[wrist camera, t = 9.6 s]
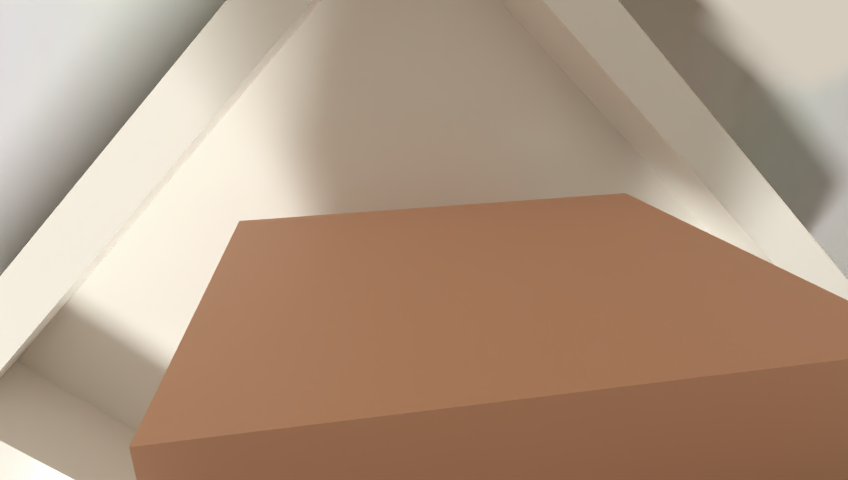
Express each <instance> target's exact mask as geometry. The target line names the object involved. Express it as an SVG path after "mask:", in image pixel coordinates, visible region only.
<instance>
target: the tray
mask: <svg viewBox="0 0 848 480" xmlns="http://www.w3.org/2000/svg"><path fill="white" fill-rule="evenodd" d="M620 193H626V194H628V195H630V196H632V197H635V198H637V199H639V200H641V201H643V202H645V203H647V204H649V205H651V206H653V207H655V208H657V209H659V210H661V211H664V212H666V213H668V214H670V215H672V216H674V217H676V218H678V219H680V220H682V221H684V222H686V223H688V224H690V225H693V226H695V227H697V228H699V229H701V230H703V231H705V232H707V233H709V234H711V235H713V236H715V237H717V238H719V239H722V240H724V241H726V242H728V243H730V244H732V245H734V246H736V247H738V248H740V249H742V250H744V251H746V252H748V253H751V254H753V255H755V256H757V257H759V258H761V259H763V260H765V261H767V262H769V263H771V264H773V265H775V266H777V267H780V268H782V269H784V270H786V271H788V272H790V273H792V274H794V275H796V276H798V277H800V278H802V279H804V280H806V281H809V282H811V283H813V284H815V285H817V286H819V287H821V288H823V289H825V290H827V291H829V292H831V293H833V294H835V295H838V296H840V297H842V298H844V299H846V300H848V280H847V278H846V277H845V276H844V275H843V274H842V272H841V271H840V270H839V269H838V267H837V266H836V265H835V264H834V263H833V261H832V260H831V259H830V258H829V256H828V255H827V254H826V253H825V252H824V250H823V249H822V248H821V247H820V245H819V244H818V243H817V242H816V241H815V239H814V238H813V237H812V236H811V234H810V233H809V232H808V231H807V230H806V228H805V227H804V226H803V225H802V223H801V222H800V221H799V220H798V219H797V217H796V216H795V215H794V214H793V213H792V211H791V210H790V209H789V208H788V206H787V205H786V204H785V203H784V202H783V200H782V199H781V198H780V197H779V195H778V194H777V193H776V192H775V191H774V189H773V188H772V187H771V186H770V184H769V183H768V182H767V181H766V180H765V178H764V177H763V176H762V175H761V173H760V172H759V171H758V170H757V169H756V167H755V166H754V165H753V164H752V162H751V161H750V160H749V159H748V158H747V156H746V155H745V154H744V153H743V151H742V150H741V149H740V148H739V147H738V145H737V144H736V143H735V142H734V140H733V139H732V138H731V137H730V136H729V134H728V133H727V132H726V131H725V129H724V128H723V127H722V126H721V125H720V123H719V122H718V121H717V120H716V119H715V117H714V116H713V115H712V114H711V112H710V111H709V110H708V109H707V108H706V106H705V105H704V104H703V103H702V101H701V100H700V99H699V98H698V97H697V95H696V94H695V93H694V92H693V90H692V89H691V88H690V87H689V86H688V84H687V83H686V82H685V81H684V79H683V78H682V77H681V76H680V75H679V73H678V72H677V71H676V70H675V68H674V67H673V66H672V65H671V64H670V62H669V61H668V60H667V59H666V57H665V56H664V55H663V54H662V53H661V51H660V50H659V49H658V48H657V46H656V45H655V44H654V43H653V42H652V40H651V39H650V38H649V37H648V35H647V34H646V33H645V32H644V31H643V29H642V28H641V27H640V26H639V25H638V23H637V22H636V21H635V20H634V18H633V17H632V16H631V15H630V14H629V12H628V11H627V10H626V9H625V7H624V6H623V5H622V4H621V3H620V1H619V0H226V1H225V2H224V3H223V5H222V6H221V7H220V8H219V10H218V11H217V12H216V13H215V14H214V16H213V17H212V18H211V19H210V21H209V22H208V23H207V24H206V25H205V27H204V28H203V29H202V30H201V32H200V33H199V34H198V35H197V36H196V38H195V39H194V40H193V41H192V43H191V44H190V45H189V46H188V47H187V49H186V50H185V51H184V52H183V54H182V55H181V56H180V57H179V58H178V60H177V61H176V62H175V63H174V65H173V66H172V67H171V68H170V69H169V71H168V72H167V73H166V74H165V76H164V77H163V78H162V79H161V80H160V82H159V83H158V84H157V85H156V87H155V88H154V89H153V90H152V91H151V93H150V94H149V95H148V96H147V98H146V99H145V100H144V101H143V102H142V104H141V105H140V106H139V107H138V109H137V110H136V111H135V112H134V113H133V115H132V116H131V117H130V118H129V120H128V121H127V122H126V123H125V124H124V126H123V127H122V128H121V129H120V131H119V132H118V133H117V134H116V135H115V137H114V138H113V139H112V140H111V142H110V143H109V144H108V145H107V146H106V148H105V149H104V150H103V151H102V153H101V154H100V155H99V156H98V157H97V159H96V160H95V161H94V162H93V164H92V165H91V166H90V167H89V168H88V170H87V171H86V172H85V173H84V174H83V176H82V177H81V178H80V179H79V181H78V182H77V183H76V184H75V185H74V187H73V188H72V189H71V190H70V192H69V193H68V194H67V195H66V196H65V198H64V199H63V200H62V201H61V203H60V204H59V205H58V206H57V207H56V209H55V210H54V211H53V212H52V214H51V215H50V216H49V217H48V218H47V220H46V221H45V222H44V223H43V225H42V226H41V227H40V228H39V229H38V231H37V232H36V233H35V234H34V236H33V237H32V238H31V239H30V240H29V242H28V243H27V244H26V245H25V247H24V248H23V249H22V250H21V251H20V253H19V254H18V255H17V256H16V258H15V259H14V260H13V261H12V262H11V264H10V265H9V266H8V267H7V269H6V270H5V271H4V272H3V273H2V275H1V276H0V480H136V475H135V471H134V466H133V462H132V458H131V453H130V449H129V446H130V444H131V442H132V440H133V438H134V436H135V434H136V432H137V430H138V428H139V426H140V424H141V422H142V420H143V417H144V415H145V413H146V411H147V409H148V407H149V405H150V403H151V401H152V399H153V397H154V395H155V393H156V391H157V389H158V387H159V385H160V383H161V381H162V379H163V376H164V374H165V372H166V370H167V368H168V366H169V364H170V362H171V360H172V358H173V356H174V354H175V352H176V350H177V348H178V346H179V344H180V342H181V340H182V337H183V335H184V333H185V331H186V329H187V327H188V325H189V323H190V321H191V319H192V317H193V315H194V313H195V311H196V309H197V307H198V305H199V303H200V301H201V298H202V296H203V294H204V292H205V290H206V288H207V286H208V284H209V282H210V280H211V278H212V276H213V274H214V272H215V270H216V268H217V266H218V264H219V262H220V259H221V257H222V255H223V253H224V251H225V249H226V247H227V245H228V243H229V241H230V239H231V237H232V235H233V233H234V231H235V229H236V227H237V225H238V223H239V221H245V220H259V219H273V218H286V217H300V216H314V215H328V214H342V213H356V212H370V211H384V210H398V209H412V208H426V207H439V206H453V205H467V204H481V203H495V202H509V201H523V200H537V199H551V198H565V197H578V196H592V195H606V194H620Z"/></svg>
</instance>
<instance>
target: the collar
mask: <svg viewBox="0 0 848 480" xmlns="http://www.w3.org/2000/svg"><path fill="white" fill-rule="evenodd" d="M129 449H130V453H131V458H132V462H133V466H134V471H135V475H136V480H848V300H846V299H844V298H842V297H840V296H838V295H835V294H833V293H831V292H829V291H827V290H825V289H823V288H821V287H819V286H817V285H815V284H813V283H811V282H809V281H806V280H804V279H802V278H800V277H798V276H796V275H794V274H792V273H790V272H788V271H786V270H784V269H782V268H780V267H777V266H775V265H773V264H771V263H769V262H767V261H765V260H763V259H761V258H759V257H757V256H755V255H753V254H751V253H748V252H746V251H744V250H742V249H740V248H738V247H736V246H734V245H732V244H730V243H728V242H726V241H724V240H722V239H719V238H717V237H715V236H713V235H711V234H709V233H707V232H705V231H703V230H701V229H699V228H697V227H695V226H693V225H690V224H688V223H686V222H684V221H682V220H680V219H678V218H676V217H674V216H672V215H670V214H668V213H666V212H664V211H661V210H659V209H657V208H655V207H653V206H651V205H649V204H647V203H645V202H643V201H641V200H639V199H637V198H635V197H632V196H630V195H628V194H626V193H620V194H606V195H592V196H578V197H565V198H551V199H537V200H523V201H509V202H495V203H481V204H467V205H453V206H439V207H426V208H412V209H398V210H384V211H370V212H356V213H342V214H328V215H314V216H300V217H286V218H273V219H259V220H245V221H239V223H238V225H237V227H236V229H235V231H234V233H233V235H232V237H231V239H230V241H229V243H228V245H227V247H226V249H225V251H224V253H223V255H222V257H221V259H220V262H219V264H218V266H217V268H216V270H215V272H214V274H213V276H212V278H211V280H210V282H209V284H208V286H207V288H206V290H205V292H204V294H203V296H202V298H201V301H200V303H199V305H198V307H197V309H196V311H195V313H194V315H193V317H192V319H191V321H190V323H189V325H188V327H187V329H186V331H185V333H184V335H183V337H182V340H181V342H180V344H179V346H178V348H177V350H176V352H175V354H174V356H173V358H172V360H171V362H170V364H169V366H168V368H167V370H166V372H165V374H164V376H163V379H162V381H161V383H160V385H159V387H158V389H157V391H156V393H155V395H154V397H153V399H152V401H151V403H150V405H149V407H148V409H147V411H146V413H145V415H144V417H143V420H142V422H141V424H140V426H139V428H138V430H137V432H136V434H135V436H134V438H133V440H132V442H131V444H130V446H129Z"/></svg>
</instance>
